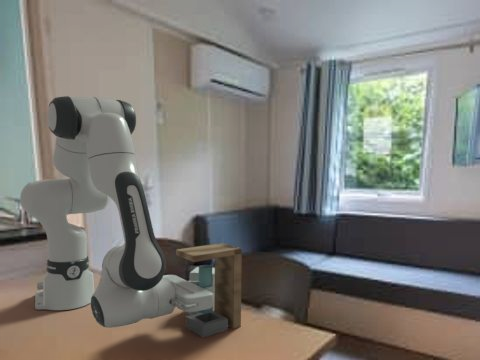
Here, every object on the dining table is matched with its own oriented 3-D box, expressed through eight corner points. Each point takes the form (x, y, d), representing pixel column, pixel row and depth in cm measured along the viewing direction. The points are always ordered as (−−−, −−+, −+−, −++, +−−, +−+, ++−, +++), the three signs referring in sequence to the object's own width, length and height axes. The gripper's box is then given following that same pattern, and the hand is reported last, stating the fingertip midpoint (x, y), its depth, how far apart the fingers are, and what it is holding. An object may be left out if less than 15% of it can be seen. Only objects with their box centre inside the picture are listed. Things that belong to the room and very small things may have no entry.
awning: (175, 329, 102) (176, 249, 101) (221, 316, 112) (222, 242, 111) (193, 341, 95) (194, 256, 94) (240, 326, 105) (241, 248, 104)
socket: (186, 327, 104) (186, 316, 104) (211, 320, 109) (211, 309, 109) (202, 337, 97) (202, 326, 97) (228, 329, 103) (228, 318, 102)
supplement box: (212, 317, 111) (213, 274, 110) (188, 315, 112) (188, 272, 112) (219, 308, 118) (219, 267, 117) (196, 306, 119) (196, 265, 119)
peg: (195, 310, 103) (196, 266, 102) (206, 307, 105) (207, 264, 104) (203, 314, 100) (203, 269, 99) (214, 311, 102) (214, 266, 102)
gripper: (182, 295, 86) (231, 284, 94) (143, 274, 102) (188, 266, 110) (182, 323, 86) (231, 309, 95) (143, 298, 102) (188, 288, 111)
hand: (208, 286), depth 103 cm, fingers closed on peg, 4 cm apart
